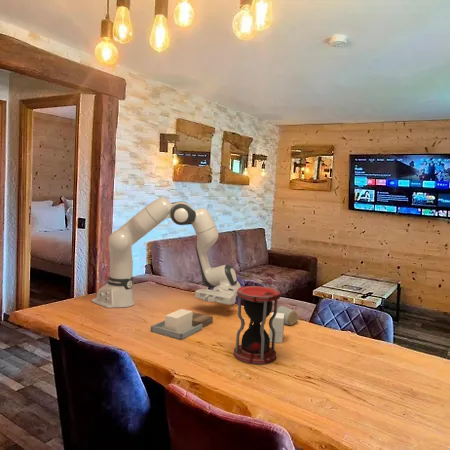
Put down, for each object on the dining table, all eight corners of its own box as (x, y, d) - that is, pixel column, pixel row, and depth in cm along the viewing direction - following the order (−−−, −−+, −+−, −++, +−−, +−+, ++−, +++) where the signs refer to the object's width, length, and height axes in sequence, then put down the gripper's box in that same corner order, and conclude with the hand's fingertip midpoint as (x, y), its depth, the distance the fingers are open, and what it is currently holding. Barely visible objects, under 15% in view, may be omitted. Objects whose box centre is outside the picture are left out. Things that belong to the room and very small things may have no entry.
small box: (282, 343, 172) (283, 318, 171) (268, 341, 173) (270, 317, 172) (283, 336, 179) (285, 313, 178) (270, 335, 180) (272, 311, 179)
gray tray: (150, 331, 177) (150, 325, 177) (172, 322, 191) (172, 316, 190) (181, 340, 169) (181, 334, 169) (202, 329, 183) (202, 324, 183)
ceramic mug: (288, 327, 192) (289, 311, 191) (274, 322, 198) (275, 306, 197) (301, 323, 199) (303, 307, 199) (287, 318, 205) (289, 303, 205)
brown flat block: (175, 322, 190) (175, 316, 190) (187, 317, 199) (187, 310, 199) (200, 328, 184) (201, 322, 183) (212, 323, 192) (212, 316, 192)
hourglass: (240, 366, 148) (245, 297, 145) (228, 348, 163) (232, 285, 161) (283, 363, 152) (287, 296, 150) (267, 346, 168) (271, 285, 165)
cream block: (180, 324, 187) (164, 331, 177) (181, 308, 186) (165, 315, 176) (191, 326, 184) (176, 334, 174) (192, 311, 184) (176, 318, 173)
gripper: (203, 284, 216) (188, 289, 204) (238, 291, 206) (224, 297, 194) (203, 296, 216) (188, 302, 204) (238, 303, 206) (224, 310, 194)
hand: (206, 299), depth 199 cm, fingers closed
